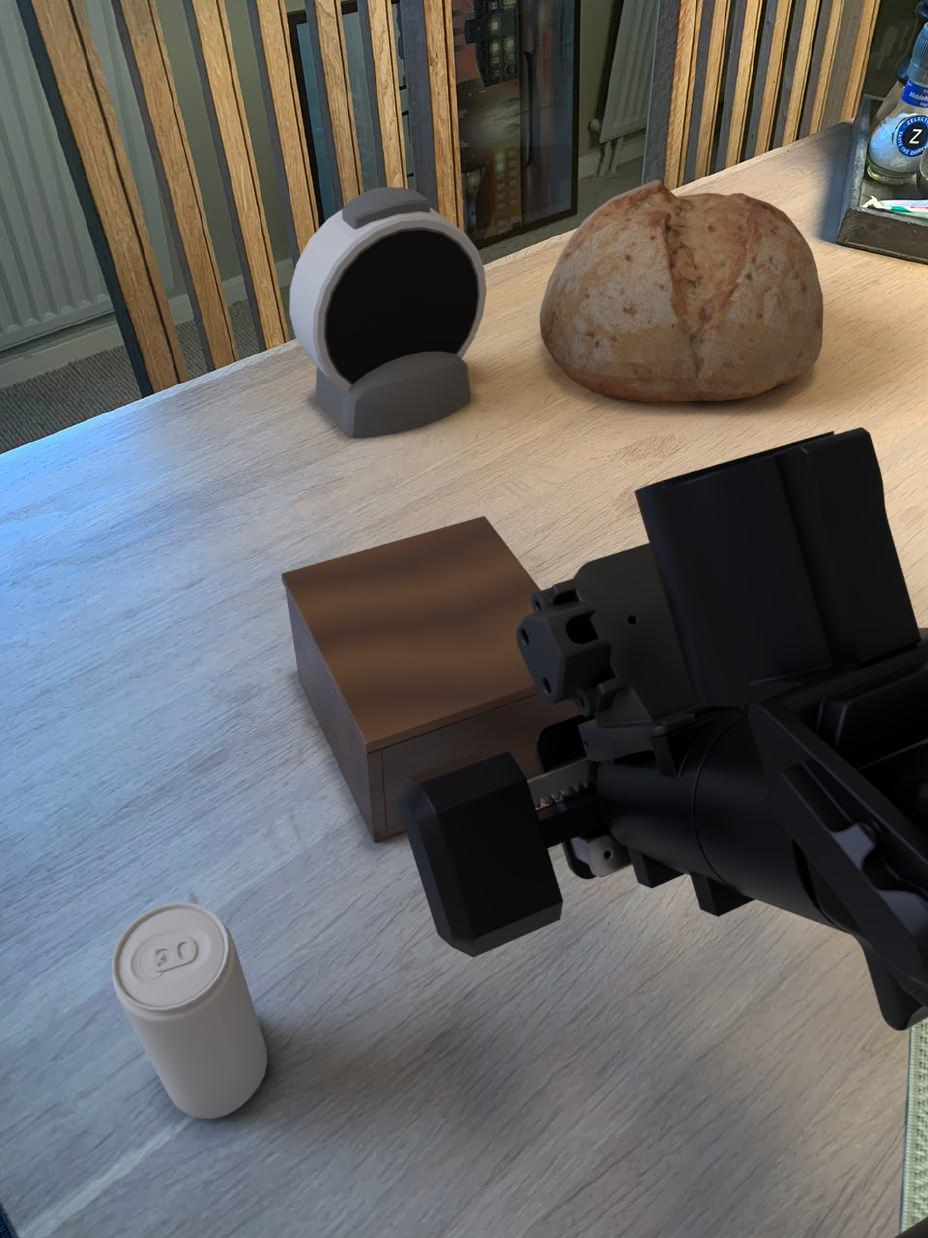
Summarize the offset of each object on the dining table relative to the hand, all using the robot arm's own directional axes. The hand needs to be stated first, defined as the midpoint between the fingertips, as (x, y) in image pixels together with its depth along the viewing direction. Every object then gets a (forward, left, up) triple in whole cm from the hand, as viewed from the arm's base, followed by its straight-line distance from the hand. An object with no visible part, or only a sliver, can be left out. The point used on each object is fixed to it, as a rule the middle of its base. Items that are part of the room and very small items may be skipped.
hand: (564, 760), depth 45 cm
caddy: (+11, +10, -13) cm, 20 cm away
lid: (+11, +10, -5) cm, 16 cm away
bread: (+61, +2, -14) cm, 63 cm away
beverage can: (-13, +13, -14) cm, 23 cm away
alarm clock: (+45, +25, -14) cm, 53 cm away
